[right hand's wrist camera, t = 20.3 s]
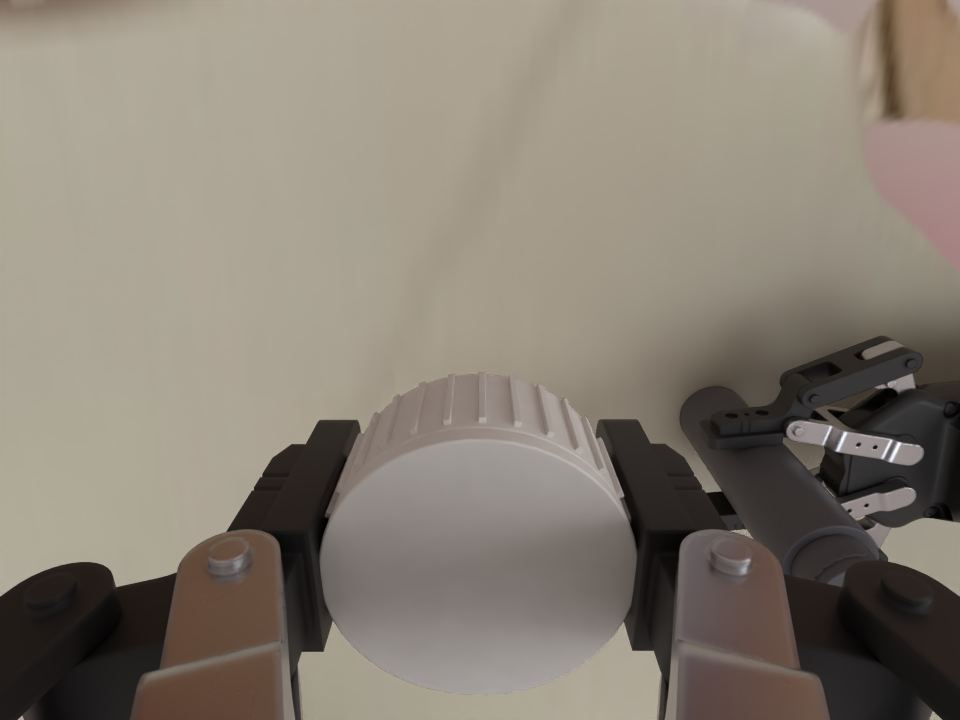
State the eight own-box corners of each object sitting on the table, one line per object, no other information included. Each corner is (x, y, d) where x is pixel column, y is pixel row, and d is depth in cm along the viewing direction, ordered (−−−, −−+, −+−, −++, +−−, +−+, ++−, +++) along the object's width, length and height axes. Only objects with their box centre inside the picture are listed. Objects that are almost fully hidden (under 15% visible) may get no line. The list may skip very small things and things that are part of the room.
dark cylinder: (666, 413, 39) (784, 599, 24) (719, 373, 38) (877, 540, 23) (704, 454, 40) (839, 656, 25) (756, 416, 39) (931, 603, 24)
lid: (664, 503, 11) (709, 594, 9) (466, 634, 12) (463, 742, 10) (495, 311, 10) (498, 364, 8) (289, 480, 11) (242, 567, 9)
